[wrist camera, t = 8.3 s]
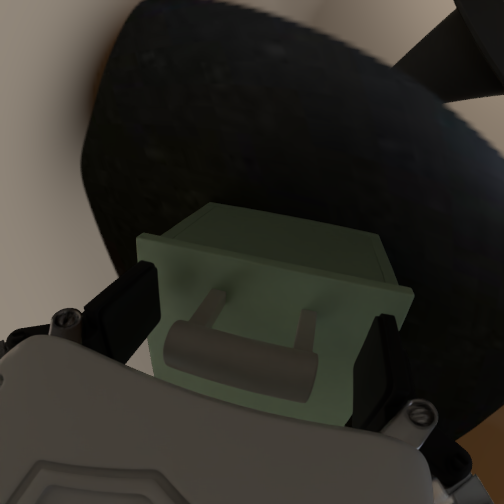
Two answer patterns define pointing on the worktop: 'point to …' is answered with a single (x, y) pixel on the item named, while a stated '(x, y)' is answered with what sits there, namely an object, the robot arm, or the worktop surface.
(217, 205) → the chest
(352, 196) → the worktop surface
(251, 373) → the lid
